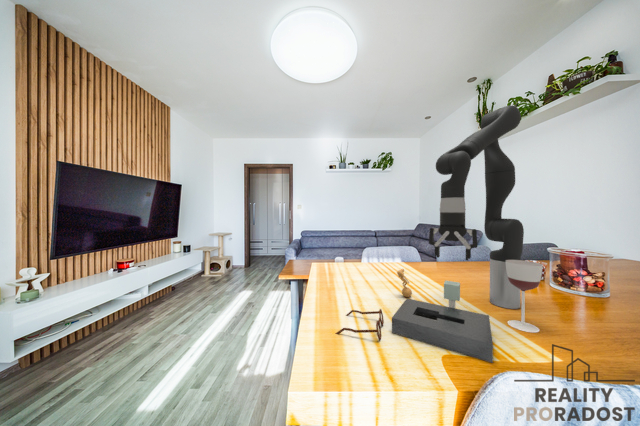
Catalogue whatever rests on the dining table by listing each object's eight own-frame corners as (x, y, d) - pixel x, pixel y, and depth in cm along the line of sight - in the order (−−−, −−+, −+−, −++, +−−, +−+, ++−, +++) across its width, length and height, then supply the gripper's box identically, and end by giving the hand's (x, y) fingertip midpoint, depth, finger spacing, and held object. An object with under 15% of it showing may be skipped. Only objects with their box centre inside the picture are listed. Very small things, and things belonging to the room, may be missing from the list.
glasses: (380, 344, 62) (380, 326, 62) (335, 335, 67) (335, 318, 67) (384, 322, 75) (383, 307, 75) (345, 316, 79) (345, 302, 79)
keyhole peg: (444, 311, 81) (444, 280, 81) (460, 315, 78) (460, 282, 78) (442, 317, 77) (442, 283, 77) (460, 321, 74) (460, 286, 74)
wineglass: (535, 336, 65) (535, 267, 65) (500, 322, 73) (500, 261, 73) (547, 329, 69) (547, 264, 69) (512, 317, 77) (512, 258, 77)
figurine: (416, 300, 91) (416, 271, 91) (402, 301, 91) (402, 271, 91) (406, 293, 100) (406, 266, 100) (393, 293, 99) (393, 266, 99)
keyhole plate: (391, 332, 67) (391, 317, 67) (406, 310, 82) (406, 298, 82) (492, 363, 54) (492, 344, 54) (488, 330, 69) (488, 315, 69)
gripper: (477, 211, 76) (477, 259, 77) (431, 211, 84) (430, 254, 85) (477, 211, 70) (477, 263, 70) (427, 211, 78) (427, 258, 78)
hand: (452, 258), depth 77 cm, fingers open, 8 cm apart
